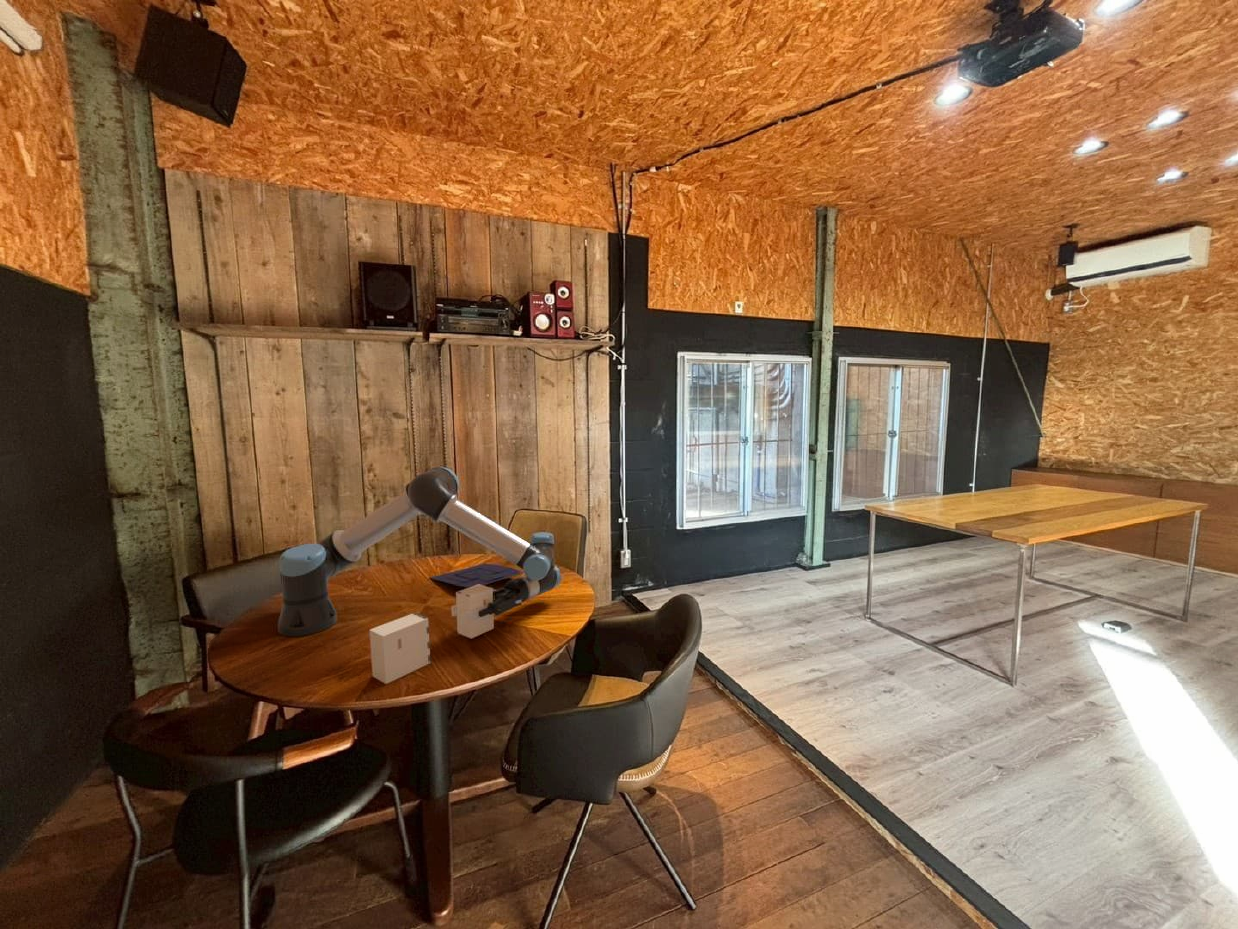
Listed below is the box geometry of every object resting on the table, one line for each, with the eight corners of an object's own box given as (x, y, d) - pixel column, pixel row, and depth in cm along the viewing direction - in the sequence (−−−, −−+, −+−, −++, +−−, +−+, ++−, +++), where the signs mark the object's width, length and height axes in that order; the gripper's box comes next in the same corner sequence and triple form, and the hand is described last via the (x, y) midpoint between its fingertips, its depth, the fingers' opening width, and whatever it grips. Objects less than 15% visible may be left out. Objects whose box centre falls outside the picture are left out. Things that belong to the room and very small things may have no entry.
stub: (457, 632, 146) (455, 591, 144) (480, 623, 152) (478, 583, 151) (471, 638, 142) (469, 596, 141) (493, 628, 149) (492, 587, 147)
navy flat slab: (470, 597, 173) (469, 586, 173) (429, 585, 194) (428, 575, 194) (529, 579, 190) (528, 569, 190) (485, 569, 211) (484, 560, 211)
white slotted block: (372, 676, 126) (369, 628, 124) (416, 656, 136) (414, 612, 134) (386, 684, 122) (383, 635, 121) (430, 663, 132) (428, 618, 130)
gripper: (543, 608, 156) (483, 636, 137) (500, 594, 167) (439, 618, 148) (543, 584, 155) (482, 609, 136) (500, 571, 166) (438, 594, 147)
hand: (460, 614), depth 142 cm, fingers closed on stub, 6 cm apart
